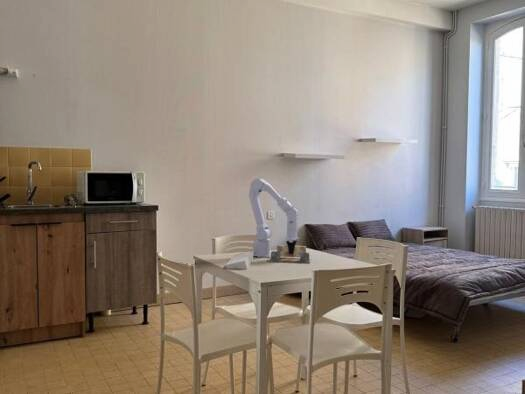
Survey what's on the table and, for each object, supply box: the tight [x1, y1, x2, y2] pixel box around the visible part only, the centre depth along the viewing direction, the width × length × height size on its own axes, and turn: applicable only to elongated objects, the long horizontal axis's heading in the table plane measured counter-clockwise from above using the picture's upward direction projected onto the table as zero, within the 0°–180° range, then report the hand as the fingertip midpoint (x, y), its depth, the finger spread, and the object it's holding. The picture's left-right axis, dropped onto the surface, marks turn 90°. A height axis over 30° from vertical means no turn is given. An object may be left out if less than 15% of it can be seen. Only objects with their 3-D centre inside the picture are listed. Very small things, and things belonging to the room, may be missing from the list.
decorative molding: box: [224, 250, 254, 270], centre depth 263 cm, size 34×5×10 cm
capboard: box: [269, 250, 311, 264], centre depth 274 cm, size 21×11×4 cm, turn 83°
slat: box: [276, 244, 307, 258], centre depth 285 cm, size 16×2×6 cm, turn 83°
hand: (291, 253), depth 285 cm, fingers closed on slat, 2 cm apart
